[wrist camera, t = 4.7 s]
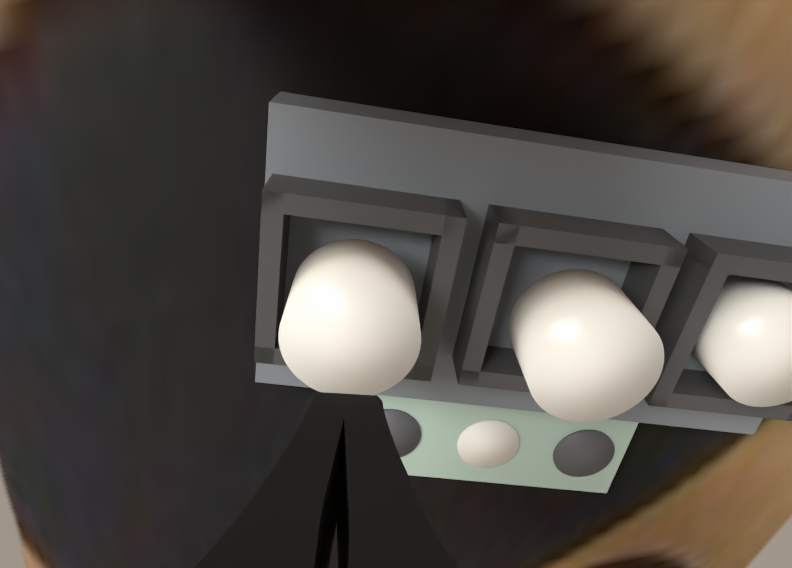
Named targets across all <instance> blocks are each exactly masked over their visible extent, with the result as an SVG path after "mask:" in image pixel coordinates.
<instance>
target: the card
mask: <svg viewBox="0 0 792 568" xmlns="http://www.w3.org/2000/svg"><path fill="white" fill-rule="evenodd" d="M376 396H378V397H379V398H380V399H381V400H382V402H383V408H384V412H385V416H386V419H387V423H388V426H389V429H390V432H391V435H392V437H393V440H394V443H395V446H396V448H397V451H398V453H399V456H400V458H401V460H402V462H403V465H404V467H405V469H406V471H407V474H408V475H414V476H425V477H436V478H446V479H457V480H468V481H479V482H490V483H500V484H511V485H522V486H533V487H544V488H554V489H565V490H576V491H587V492H598V493H607V491H608V489H609V487H610V485H611V483H612V480H613V478H614V476H615V474H616V472H617V469H618V467H619V465H620V463H621V461H622V458H623V456H624V454H625V452H626V450H627V447H628V445H629V443H630V441H631V439H632V436H633V434H634V432H635V430H636V427H637V425H638V423H639V422H629V421H620V420H611V419H605V420H601V421H595V422H572V421H566V420H563V419H559V418H557V417H555V416H552V415H551V414H549V413H544V412H535V411H526V410H516V409H507V408H497V407H488V406H478V405H469V404H459V403H450V402H441V401H431V400H422V399H412V398H403V397H393V396H384V395H376Z"/></svg>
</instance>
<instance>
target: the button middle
mask: <svg viewBox="0 0 792 568" xmlns="http://www.w3.org/2000/svg"><path fill="white" fill-rule="evenodd" d="M508 331H509V338H510V342H511V344H512V347H513V349H514V352H515V354H516V357H517V359H518V362H519V365H520V367H521V370H522V372H523V375H524V377H525V380H526V382H527V385H528V388H529V390H530V392H531V395H532V397H533V398H534V400H535V401H536V403H537V404H538V405H539V406H540V407H541V408H542V409H543V410H545V411H546V412H547V413H549V414H551V415H552V416H555V417H557V418H559V419H563V420H566V421H572V422H595V421H601V420H605V419H609V418H612V417H614V416H617V415H619V414H621V413H624V412H626V411H627V410H629V409H631V408H632V407H634V406H635V405H636V404H638V403H639V402H640V401H641V400H643V399H644V398H645V397H646V396H647V395H648V394H649V392H650V391H651V390H652V389H653V387H654V386H655V384H656V383H657V381H658V379H659V377H660V375H661V372H662V369H663V364H664V347H663V344H662V341H661V339H660V337H659V334H658V333H657V332H656V330H655V329H654V328H653V327H652V325H651V324H650V323H649V322H648V321H647V319H646V318H645V317H644V316H643V315H642V314H641V312H640V311H639V310H638V309H637V308H636V307H635V305H634V304H633V303H632V302H631V301H630V299H629V298H628V297H627V296H626V295H625V294H624V292H623V291H622V290H621V289H620V288H619V287H618V285H617V284H616V283H615V282H614V281H612V280H611V279H610V278H608V277H607V276H605V275H603V274H601V273H598V272H595V271H591V270H586V269H569V270H563V271H559V272H555V273H552V274H550V275H547V276H545V277H543V278H541V279H540V280H538V281H536V282H535V283H534V284H532V285H531V286H530V287H529V288H527V289H526V290H525V291H524V292H523V294H522V295H521V296H520V297H519V299H518V300H517V301H516V303H515V305H514V307H513V309H512V312H511V314H510V318H509V325H508Z"/></svg>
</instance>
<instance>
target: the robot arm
mask: <svg viewBox="0 0 792 568" xmlns="http://www.w3.org/2000/svg"><path fill="white" fill-rule="evenodd" d="M336 523H337V559H338V568H460V567H459V565H458V564H457V562H456V561H455V559H454V558H453V556H452V554H451V553H450V551H449V550H448V548H447V547H446V545H445V543H444V542H443V540H442V538H441V537H440V535H439V533H438V532H437V530H436V528H435V526H434V525H433V523H432V521H431V519H430V517H429V516H428V514H427V512H426V510H425V508H424V506H423V504H422V502H421V501H420V499H419V497H418V495H417V493H416V491H415V489H414V487H413V485H412V482H411V480H410V478H409V476H408V474H407V471H406V469H405V467H404V465H403V462H402V460H401V458H400V456H399V453H398V451H397V448H396V446H395V443H394V440H393V437H392V435H391V432H390V429H389V426H388V423H387V419H386V416H385V412H384V408H383V402H382V400H381V399H380V398H379V397H378V396H376V395H359V394H342V393H325V392H314V393H313V394H312V395H310V396H309V398H308V401H307V404H306V406H305V408H304V410H303V412H302V415H301V417H300V419H299V421H298V422H297V424H296V426H295V428H294V430H293V432H292V433H291V435H290V437H289V439H288V440H287V442H286V444H285V445H284V447H283V448H282V450H281V451H280V453H279V455H278V456H277V458H276V459H275V461H274V463H273V464H272V466H271V467H270V469H269V470H268V472H267V473H266V475H265V476H264V477H263V479H262V480H261V482H260V483H259V484H258V486H257V487H256V488H255V490H254V491H253V493H252V494H251V495H250V497H249V498H248V499H247V501H246V502H245V504H244V505H243V506H242V507H241V509H240V510H239V511H238V513H237V514H236V515H235V516H234V518H233V519H232V520H231V521H230V523H229V524H228V525H227V526H226V527H225V529H224V530H223V531H222V532H221V533H220V535H219V536H218V537H217V538H216V539H215V540H214V542H213V543H212V544H211V545H210V546H209V547H208V549H207V550H206V551H205V552H204V553H203V554H202V555H201V556H200V557H199V559H198V560H197V561H196V562H195V563H194V564H193V565H192V566H191V567H190V568H329V564H330V558H331V552H332V546H333V541H334V535H335V529H336Z"/></svg>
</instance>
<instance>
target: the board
mask: <svg viewBox="0 0 792 568" xmlns="http://www.w3.org/2000/svg"><path fill="white" fill-rule="evenodd" d="M344 239H360V240H366V241H371V242H374V243H377V244H379V245H382V246H384V247H386V248H387V249H389V250H391V251H392V252H393V253H395V254H396V255H397V256H398V257H399V258H400V259H401V260H402V261H403V262H404V263H405V265H406V266H407V268H408V269H409V271H410V273H411V275H412V278H413V281H414V285H415V291H416V298H417V306H418V314H419V322H420V330H421V347H420V352H419V355H418V358H417V360H416V362H415V364H414V366H413V367H412V369H411V371H410V372H409V373H408V374H407V375H406V376H405V377H404V378H403V379H402V380H401V381H400V382H399V383H397V384H396V385H394V386H393V387H391V388H389V389H387V390H385V391H383V392H381V393H378V394H375V395H384V396H393V397H403V398H412V399H422V400H431V401H441V402H450V403H459V404H469V405H478V406H488V407H497V408H507V409H516V410H526V411H535V412H544V413H547V412H546V411H545V410H543V409H542V408H541V407H540V406H539V405H538V404H537V403H536V401H535V400H534V398H533V397H532V395H531V392H530V390H529V388H528V385H527V382H526V380H525V377H524V375H523V372H522V370H521V367H520V365H519V362H518V359H517V357H516V354H515V352H514V349H513V347H512V344H511V342H510V338H509V331H508V325H509V318H510V314H511V312H512V309H513V307H514V305H515V303H516V301H517V300H518V299H519V297H520V296H521V295H522V294H523V292H524V291H525V290H526V289H527V288H529V287H530V286H531V285H532V284H534V283H535V282H536V281H538V280H540V279H541V278H543V277H545V276H547V275H550V274H552V273H555V272H559V271H563V270H569V269H586V270H591V271H595V272H598V273H601V274H603V275H605V276H607V277H608V278H610V279H611V280H612V281H614V282H615V283H616V284H617V285H618V287H619V288H620V289H621V290H622V291H623V292H624V294H625V295H626V296H627V297H628V298H629V299H630V301H631V302H632V303H633V304H634V305H635V307H636V308H637V309H638V310H639V311H640V312H641V314H642V315H643V316H644V317H645V318H646V319H647V321H648V322H649V323H650V324H651V325H652V327H653V328H654V329H655V330H656V332H657V333H658V334H659V337H660V339H661V341H662V344H663V347H664V364H663V369H662V372H661V375H660V377H659V379H658V381H657V383H656V384H655V386H654V387H653V389H652V390H651V391H650V392H649V394H648V395H647V396H646V397H645V398H644V399H643V400H641V401H640V402H639V403H638V404H636V405H635V406H634V407H632V408H631V409H629V410H627V411H626V412H624V413H621V414H619V415H617V416H614V417H612V418H609V419H611V420H620V421H629V422H639V423H648V424H658V425H667V426H677V427H686V428H695V429H705V430H714V431H724V432H733V433H743V434H752V435H754V433H755V432H756V430H757V428H758V426H759V425H760V423H761V421H762V420H763V418H768V419H777V420H786V421H792V401H790V402H787V403H784V404H780V405H776V406H770V407H754V406H748V405H744V404H741V403H739V402H737V401H735V400H734V399H732V398H731V397H730V396H729V395H728V394H727V393H726V392H725V391H724V390H723V389H722V387H721V386H720V385H719V384H718V383H717V382H716V381H715V380H714V378H713V377H712V376H711V375H710V374H709V373H708V372H707V371H706V370H705V368H704V367H703V366H702V365H701V364H700V363H699V362H698V361H697V359H696V358H695V357H694V356H693V355H692V354H691V352H692V350H693V348H694V346H695V344H696V342H697V340H698V337H699V335H700V333H701V331H702V329H703V327H704V325H705V323H706V321H707V318H708V316H709V314H710V312H711V310H712V308H713V306H714V304H715V302H716V299H717V297H718V295H719V293H720V291H721V289H722V287H723V285H724V283H725V281H726V278H727V276H730V275H737V276H745V277H752V278H759V279H767V280H774V281H780V282H781V283H783V284H784V285H786V286H787V287H788V288H790V289H791V290H792V171H787V170H780V169H774V168H768V167H761V166H755V165H748V164H742V163H736V162H729V161H723V160H716V159H710V158H703V157H697V156H691V155H684V154H678V153H671V152H665V151H659V150H652V149H646V148H639V147H633V146H627V145H620V144H614V143H607V142H601V141H594V140H588V139H582V138H575V137H569V136H562V135H556V134H550V133H543V132H537V131H530V130H524V129H517V128H511V127H505V126H498V125H492V124H485V123H479V122H473V121H466V120H460V119H453V118H447V117H441V116H434V115H428V114H421V113H415V112H408V111H402V110H396V109H389V108H383V107H376V106H370V105H364V104H357V103H351V102H344V101H338V100H332V99H325V98H319V97H312V96H306V95H299V94H293V93H287V92H280V93H278V94H277V95H276V96H275V97H274V98H273V99H272V100H271V101H269V113H268V133H267V154H266V174H265V186H264V188H263V189H262V204H261V225H260V246H259V268H258V289H257V310H256V331H255V353H254V362H255V363H256V378H255V382H261V383H271V384H280V385H290V386H299V387H308V388H311V387H309V386H308V385H306V384H305V383H303V382H302V381H301V380H300V379H298V378H297V377H296V376H295V375H294V374H293V373H292V371H291V370H290V369H289V367H288V366H287V364H286V363H285V361H284V359H283V357H282V354H281V351H280V347H279V337H278V333H279V326H280V322H281V319H282V316H283V313H284V309H285V306H286V303H287V300H288V296H289V293H290V290H291V287H292V283H293V280H294V277H295V274H296V272H297V270H298V268H299V266H300V265H301V264H302V262H303V261H304V260H305V259H306V258H307V257H308V256H309V255H310V254H311V253H312V252H313V251H315V250H316V249H318V248H320V247H321V246H324V245H326V244H328V243H331V242H334V241H339V240H344Z"/></svg>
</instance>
